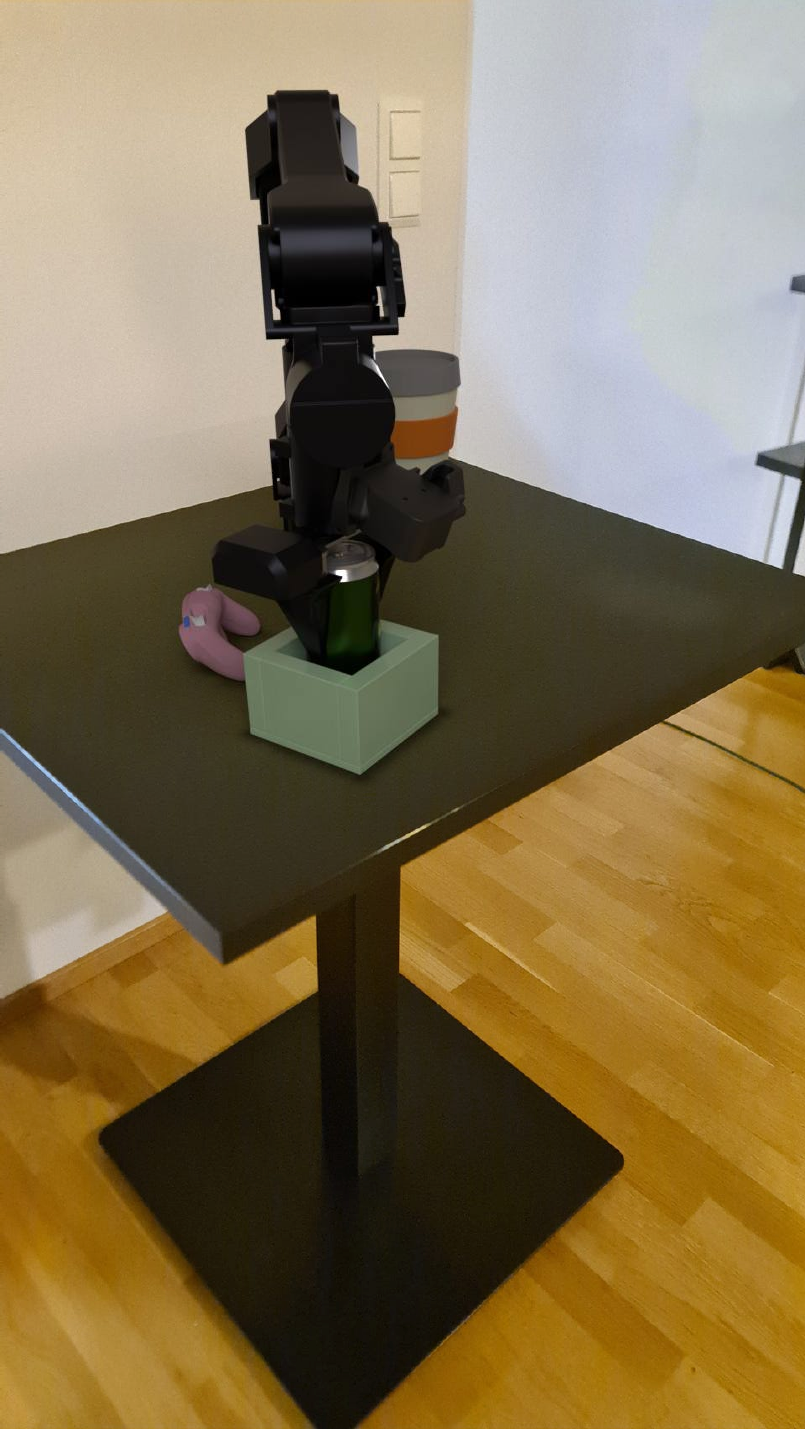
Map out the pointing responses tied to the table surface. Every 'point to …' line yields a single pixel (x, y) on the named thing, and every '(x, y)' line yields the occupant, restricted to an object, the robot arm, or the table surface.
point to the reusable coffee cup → (421, 404)
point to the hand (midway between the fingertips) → (341, 642)
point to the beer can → (352, 609)
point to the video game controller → (215, 630)
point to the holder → (343, 697)
